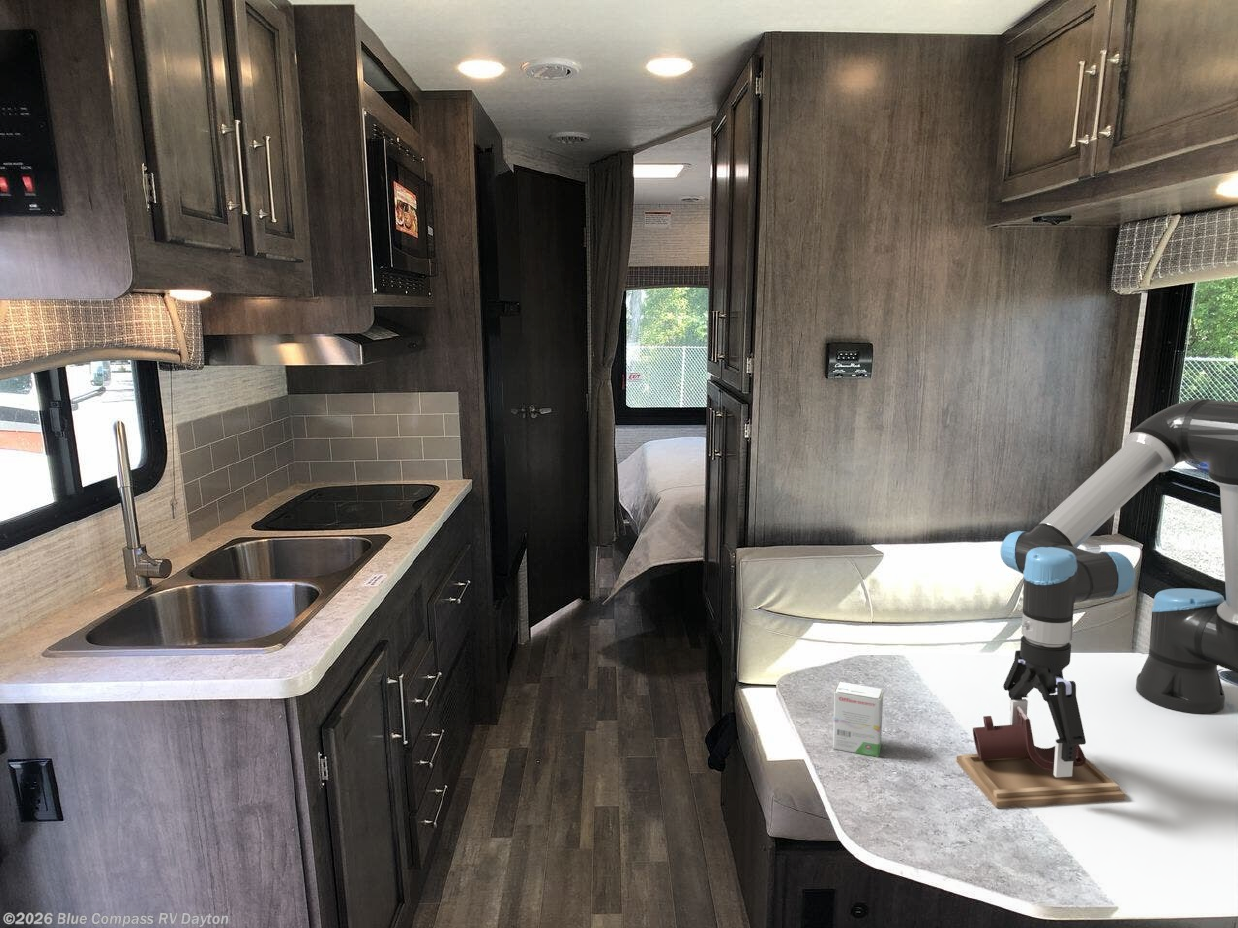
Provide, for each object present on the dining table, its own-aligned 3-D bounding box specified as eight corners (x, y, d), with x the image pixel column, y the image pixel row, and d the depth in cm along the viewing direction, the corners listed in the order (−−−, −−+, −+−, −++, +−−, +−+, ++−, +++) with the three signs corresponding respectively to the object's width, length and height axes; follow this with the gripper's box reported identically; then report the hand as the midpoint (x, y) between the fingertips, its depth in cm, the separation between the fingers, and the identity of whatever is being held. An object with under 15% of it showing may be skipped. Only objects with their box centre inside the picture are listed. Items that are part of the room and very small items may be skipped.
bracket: (1091, 771, 133) (1081, 714, 133) (985, 778, 137) (975, 722, 137) (1079, 756, 139) (1070, 701, 139) (978, 763, 143) (968, 710, 143)
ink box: (832, 749, 149) (833, 691, 147) (836, 735, 153) (837, 680, 151) (879, 758, 145) (880, 699, 143) (882, 744, 150) (884, 687, 148)
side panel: (1072, 754, 144) (1073, 744, 143) (1124, 800, 130) (1125, 789, 130) (956, 761, 143) (956, 751, 142) (996, 808, 129) (996, 797, 129)
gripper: (986, 613, 144) (981, 719, 148) (1069, 672, 119) (1061, 797, 123) (1026, 611, 144) (1020, 716, 148) (1117, 669, 120) (1107, 794, 123)
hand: (1039, 753), depth 136 cm, fingers open, 13 cm apart
